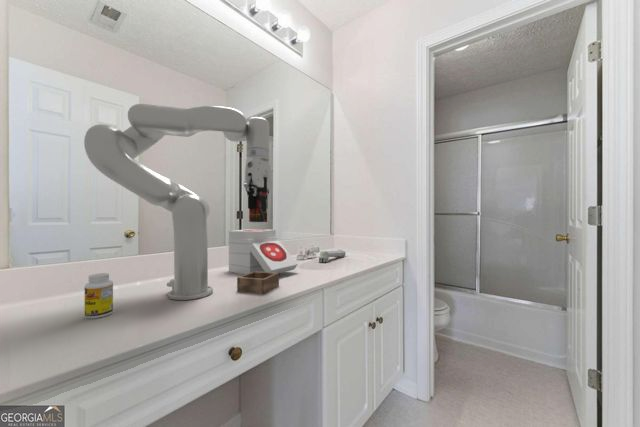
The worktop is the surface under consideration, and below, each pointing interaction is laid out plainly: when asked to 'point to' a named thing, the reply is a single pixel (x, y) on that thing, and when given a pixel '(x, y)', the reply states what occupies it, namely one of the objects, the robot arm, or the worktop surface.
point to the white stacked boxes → (258, 252)
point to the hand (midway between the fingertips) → (258, 208)
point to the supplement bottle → (98, 296)
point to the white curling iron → (330, 255)
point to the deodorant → (260, 205)
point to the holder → (257, 282)
